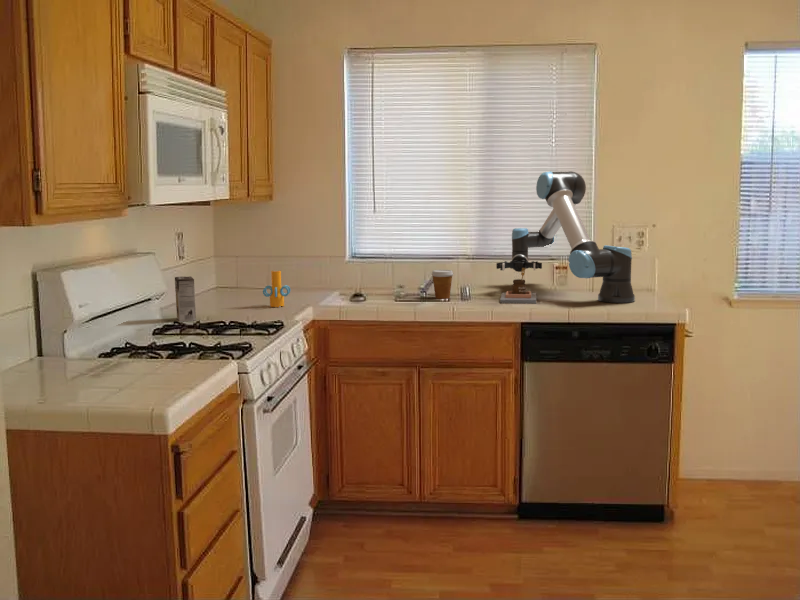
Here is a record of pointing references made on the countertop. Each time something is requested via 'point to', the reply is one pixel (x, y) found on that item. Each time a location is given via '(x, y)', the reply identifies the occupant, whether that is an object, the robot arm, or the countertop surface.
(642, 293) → the countertop surface
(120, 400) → the countertop surface
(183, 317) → the coffee box
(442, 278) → the disposable coffee cup
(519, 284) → the utensil holder
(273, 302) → the cylinder
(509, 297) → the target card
